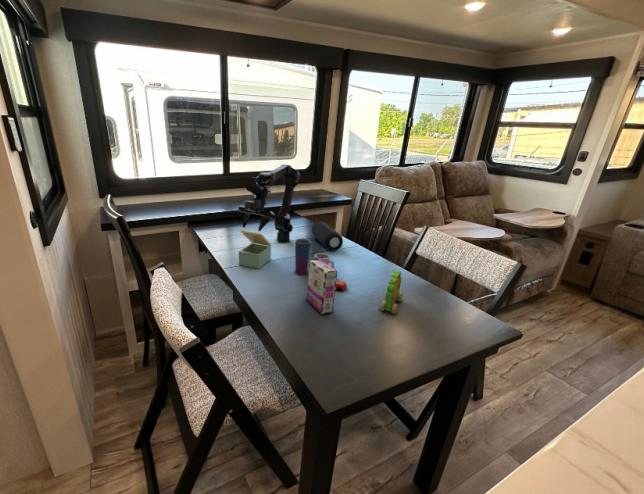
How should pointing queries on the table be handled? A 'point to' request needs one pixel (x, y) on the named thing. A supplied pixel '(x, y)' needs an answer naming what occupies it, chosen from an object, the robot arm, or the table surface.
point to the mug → (324, 258)
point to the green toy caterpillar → (393, 293)
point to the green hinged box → (254, 255)
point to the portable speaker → (327, 236)
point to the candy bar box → (321, 286)
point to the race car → (340, 285)
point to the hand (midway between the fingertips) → (251, 229)
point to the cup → (302, 255)
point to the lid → (256, 238)
